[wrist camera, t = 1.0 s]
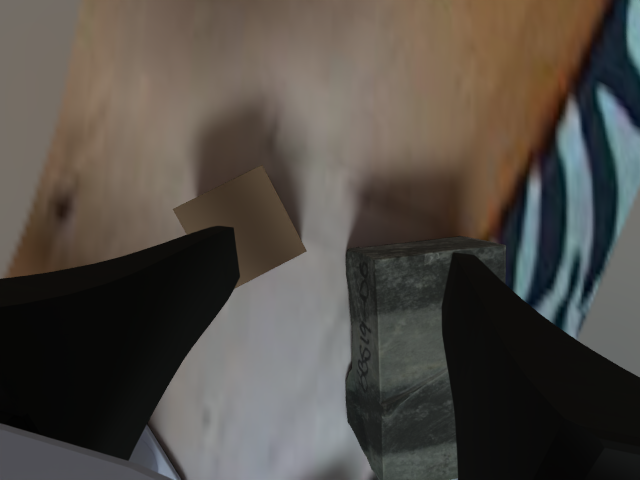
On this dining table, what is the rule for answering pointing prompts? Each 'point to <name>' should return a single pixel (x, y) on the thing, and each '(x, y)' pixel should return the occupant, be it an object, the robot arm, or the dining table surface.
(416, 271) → the stone block
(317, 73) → the dining table surface
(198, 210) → the walnut cube
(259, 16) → the dining table surface
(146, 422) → the robot arm
